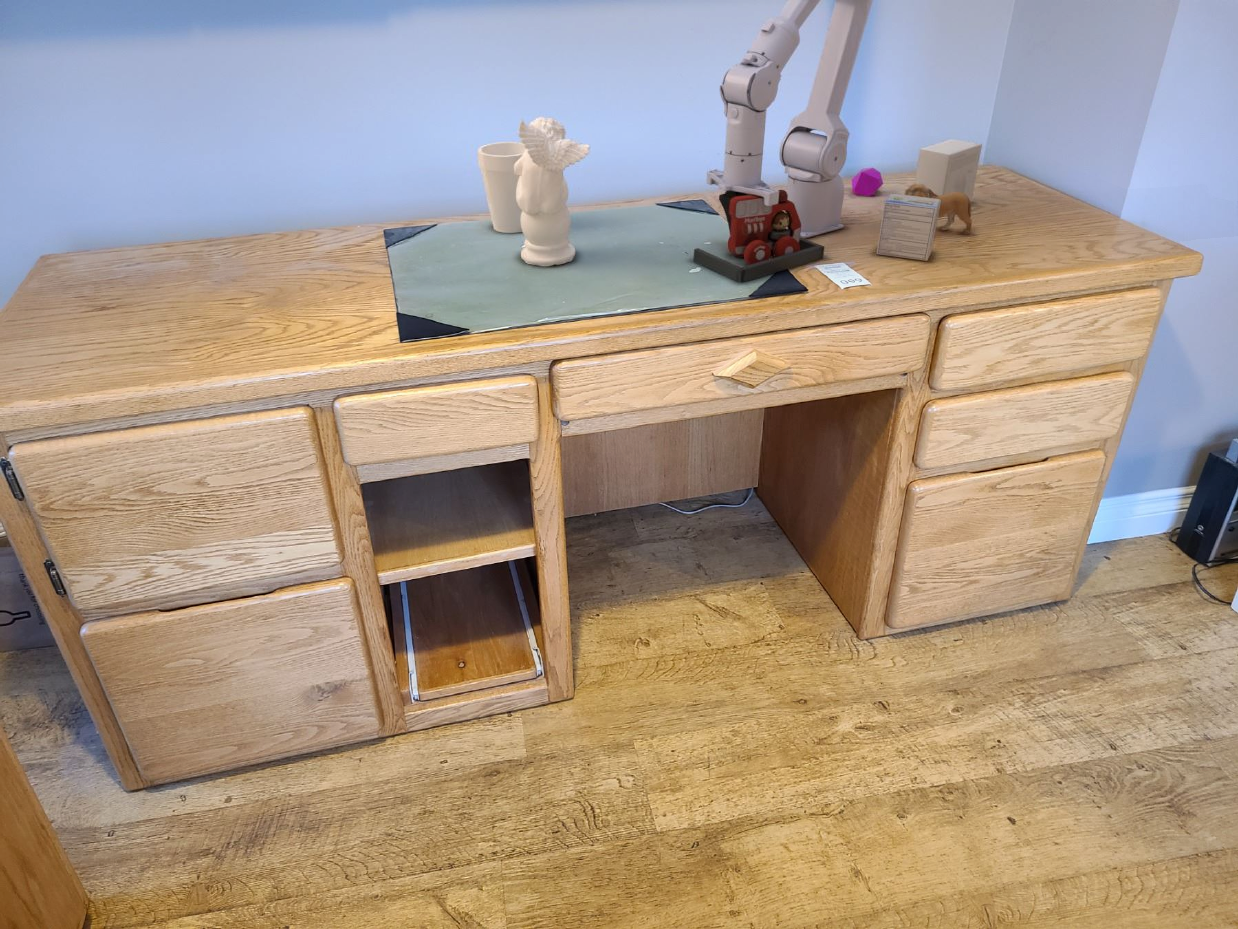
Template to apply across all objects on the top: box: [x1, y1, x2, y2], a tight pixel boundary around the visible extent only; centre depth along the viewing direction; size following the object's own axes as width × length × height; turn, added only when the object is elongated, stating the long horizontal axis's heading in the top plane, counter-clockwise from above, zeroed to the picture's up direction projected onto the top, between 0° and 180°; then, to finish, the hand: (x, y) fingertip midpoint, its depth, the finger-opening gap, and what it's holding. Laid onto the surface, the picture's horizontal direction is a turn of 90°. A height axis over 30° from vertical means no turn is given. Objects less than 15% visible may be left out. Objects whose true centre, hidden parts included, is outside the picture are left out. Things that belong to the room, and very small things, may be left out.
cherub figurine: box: [514, 116, 591, 267], centre depth 134 cm, size 12×12×22 cm
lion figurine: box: [904, 183, 973, 235], centre depth 147 cm, size 15×5×9 cm, turn 113°
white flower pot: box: [477, 141, 527, 234], centre depth 150 cm, size 10×9×13 cm
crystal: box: [850, 167, 884, 197], centre depth 168 cm, size 5×5×5 cm
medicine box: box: [876, 193, 941, 262], centre depth 139 cm, size 8×4×9 cm, turn 65°
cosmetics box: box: [914, 138, 983, 203], centre depth 159 cm, size 10×6×10 cm, turn 131°
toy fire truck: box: [726, 189, 801, 265], centre depth 137 cm, size 7×12×10 cm, turn 112°
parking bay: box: [693, 237, 825, 284], centre depth 139 cm, size 17×11×2 cm, turn 125°
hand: (737, 239), depth 142 cm, fingers closed
